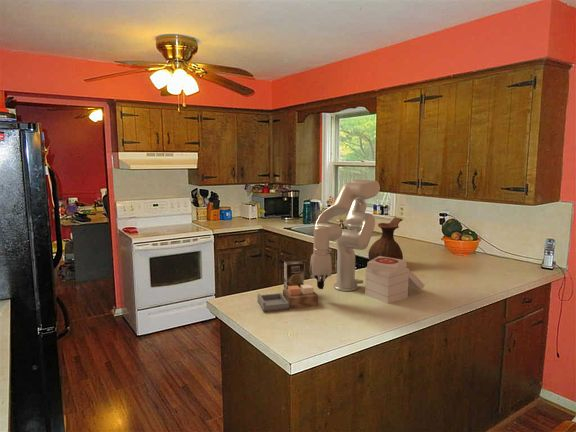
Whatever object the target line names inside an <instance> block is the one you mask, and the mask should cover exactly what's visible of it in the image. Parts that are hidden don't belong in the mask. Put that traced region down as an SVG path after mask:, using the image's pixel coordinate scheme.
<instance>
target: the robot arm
mask: <svg viewBox="0 0 576 432" xmlns="http://www.w3.org/2000/svg"><path fill="white" fill-rule="evenodd" d="M380 190H381V186H380V183H379V182H378V181H377V180H374V179H352V180H350V181H347V182H345V183H344V184H343V185H342V186H341V188H340V190H339V192H338V194H337V196H336V199H335V201H334V203H332V205H330V206H329V207H328V208H325V210H323V212H321V214H320V215H319V216H318V218H317V220H316V221H315V224H314V227H313V247H312V248H313V253H312V254H311V256H310V261H309V273H310V274H309V277H310V278H312V279H315V280H316V283H317V284H316V287H317V288H318V289H319V290H324V287H325V281H326V279H327V278H329V277H331V276H332V271H333V269H332V267H333V266H332V265H333V264H332V258H331V257H332V256H331V254H330V253H331V252H332V251H333V249H332V248H330V241H335V242H336V251H337V252H336V253H337V257H336V259H337V260H336V282H335V283H334V284H333V288H334V289H335V290H338V291H342V292H353V291H355V290H357V289H358V285H359V284H360V285H361V284H363V283H364V280H363V279H359V278H355V277H356V276H355V275H356V253H355V251H354V250H359V251H364V250H366V249H367V248H368V246H369V244H370V241H371V238H372V235H373V232H374V230H375V226H376V225H375V224H376V218H375V216H374V215H373V214H371V213H369V212H366V210H367V207H368V205H367V202H366V200H369V199H372V198H375V197H376V196H378V194H379V193H380ZM346 214H347V215H346ZM344 215H346V217H345V219H344V225H345V227H346V228H348V229H345V228H344V229H342V227H341V226H340V225H338V224H336V223H335V224H334V223H329V221H331V220H333V219H334V218H337V217H340V216H344Z"/></svg>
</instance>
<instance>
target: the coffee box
mask: <svg viewBox="0 0 576 432" xmlns="http://www.w3.org/2000/svg"><path fill="white" fill-rule="evenodd" d="M283 264H284V265H283V290H285V289H288V286H296V285H298V286H299V287H300V285H305V283H304V281H305V279H304V275H305V263H304V262H303V261H301V260H292V261H290V260H289V261H284V262H283Z"/></svg>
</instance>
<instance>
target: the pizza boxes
mask: <svg viewBox="0 0 576 432" xmlns="http://www.w3.org/2000/svg"><path fill="white" fill-rule="evenodd" d="M407 263H408V260H407V259H403V260H402V259H395V258H389V257H382V256H378V257H376V258H374V259H373V260H371V261H370V260H369V261H367V266H365V290H364V294H365V296H368V297H370V298H372V299H375V300H378V301H380V302H382V303H385V304H390V303H393V302H396V301H400V300H403V299H406V298H408V297H409V287H411V288H413V289H414V288H415V289H416V290H420V291H422V290H423V289H424V287H425V284H424V282H422V281H421V280H420V278H418V276H417V275H416V274H415V273H414V272H413V271H412V270H410V268H407Z"/></svg>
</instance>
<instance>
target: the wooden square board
mask: <svg viewBox="0 0 576 432" xmlns="http://www.w3.org/2000/svg"><path fill="white" fill-rule="evenodd" d="M282 295H283V296H284V297H285V299H286V300H287V301H288V302H289V309H297V308H306V307H307V308H308V307H315V306H319V295H318V294H317V293H316V292H315V291H314V293H309V294H303V293H302V292H301V294H299V295H290V294H289V293H288V289H285V290H284V289H282Z"/></svg>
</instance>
